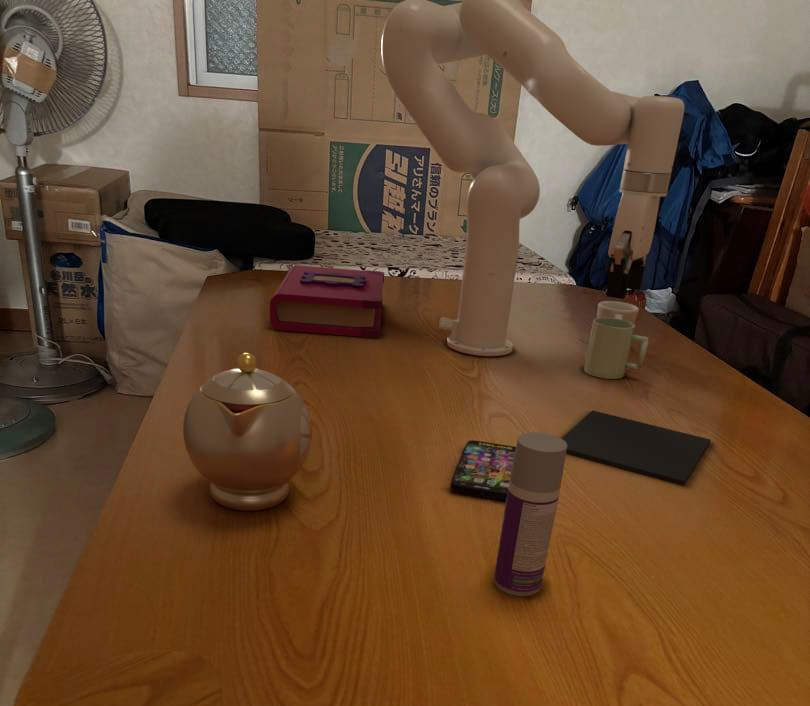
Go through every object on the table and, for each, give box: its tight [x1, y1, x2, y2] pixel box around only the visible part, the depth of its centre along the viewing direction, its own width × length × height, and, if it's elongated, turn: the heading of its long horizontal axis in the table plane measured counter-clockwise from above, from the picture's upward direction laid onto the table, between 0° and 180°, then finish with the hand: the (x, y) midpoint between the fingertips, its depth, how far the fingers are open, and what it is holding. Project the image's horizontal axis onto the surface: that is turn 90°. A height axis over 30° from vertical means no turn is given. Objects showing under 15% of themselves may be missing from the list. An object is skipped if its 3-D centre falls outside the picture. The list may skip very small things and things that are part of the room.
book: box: [269, 264, 385, 339], centre depth 158 cm, size 21×28×8 cm
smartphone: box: [450, 439, 516, 501], centre depth 98 cm, size 8×1×15 cm
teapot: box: [182, 352, 313, 512], centre depth 85 cm, size 18×14×16 cm
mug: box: [583, 317, 650, 380], centre depth 138 cm, size 10×7×9 cm
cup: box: [596, 300, 640, 325], centre depth 154 cm, size 11×8×8 cm
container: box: [493, 431, 567, 597], centre depth 72 cm, size 5×5×15 cm
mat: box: [561, 410, 712, 486], centre depth 110 cm, size 18×18×1 cm
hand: (623, 292), depth 133 cm, fingers open, 9 cm apart
